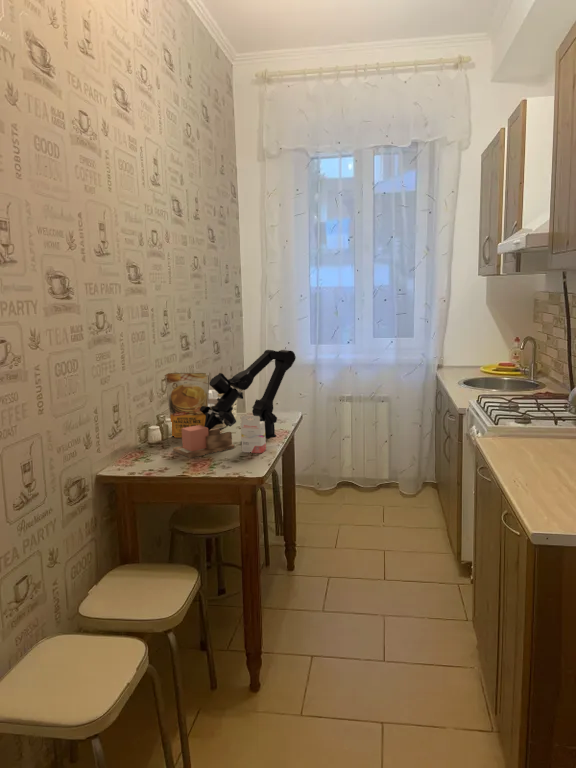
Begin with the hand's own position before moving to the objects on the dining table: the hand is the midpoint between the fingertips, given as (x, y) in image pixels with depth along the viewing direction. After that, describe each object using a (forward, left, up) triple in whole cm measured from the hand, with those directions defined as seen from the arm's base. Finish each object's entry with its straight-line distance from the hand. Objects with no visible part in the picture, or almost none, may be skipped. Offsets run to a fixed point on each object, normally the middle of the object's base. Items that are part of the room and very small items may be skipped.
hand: (204, 431), depth 237 cm
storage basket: (-17, -42, -7) cm, 46 cm away
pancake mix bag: (+1, -24, -7) cm, 25 cm away
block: (+4, +1, -6) cm, 7 cm away
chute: (+1, 0, -7) cm, 7 cm away
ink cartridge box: (-16, +12, -7) cm, 22 cm away
